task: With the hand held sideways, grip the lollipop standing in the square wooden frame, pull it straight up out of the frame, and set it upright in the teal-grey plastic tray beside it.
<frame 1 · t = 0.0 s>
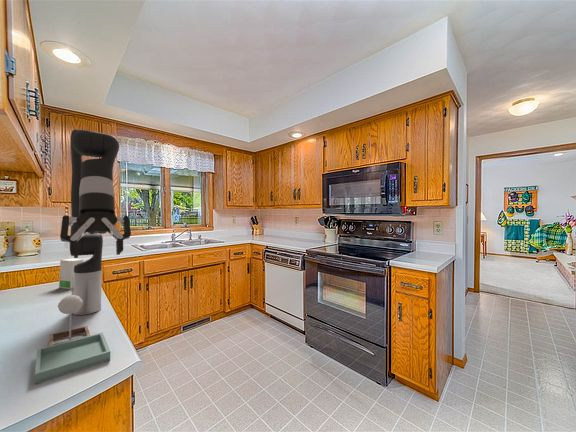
hand: (98, 255, 62), 31 cm above the countertop, tool tilted 20°, fingers open, 8 cm apart
lollipop: (69, 341, 81), resting in square wooden frame
skincare box: (71, 287, 139), on the countertop
square wooden frame: (70, 341, 81), on the countertop
tray: (73, 358, 71), on the countertop
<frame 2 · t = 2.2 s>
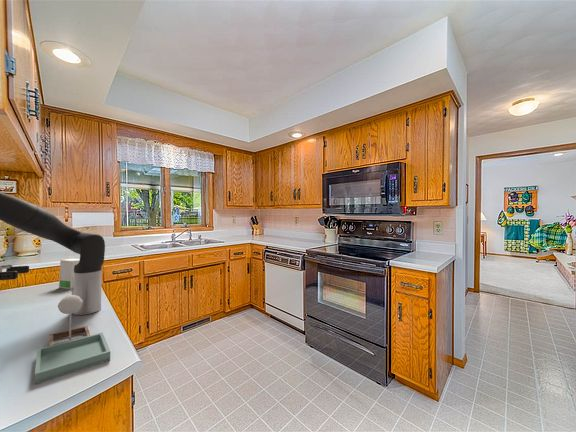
hand: (23, 271, 75), 24 cm above the countertop, tool horizontal, fingers open, 8 cm apart
nothing on the countertop moved.
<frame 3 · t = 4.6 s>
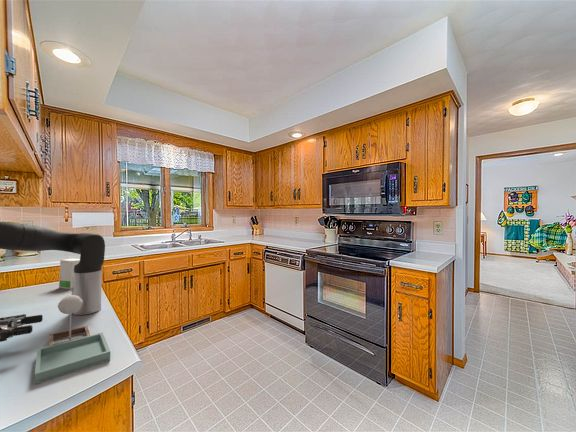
hand: (37, 323, 77), 7 cm above the countertop, tool horizontal, fingers open, 8 cm apart
nothing on the countertop moved.
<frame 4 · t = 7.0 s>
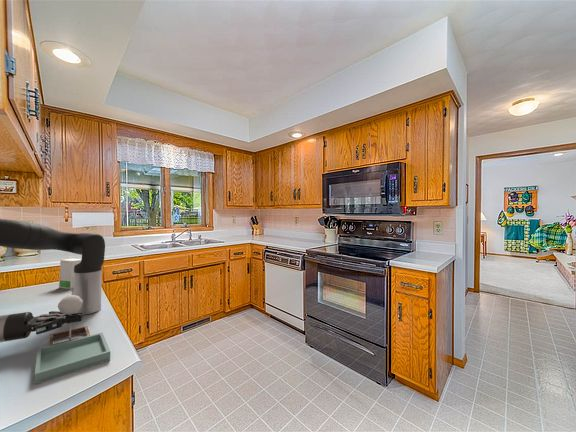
hand: (82, 316, 82), 8 cm above the countertop, tool horizontal, fingers closed on lollipop
lollipop: (70, 341, 81), resting in square wooden frame, touching gripper
everything else where it was.
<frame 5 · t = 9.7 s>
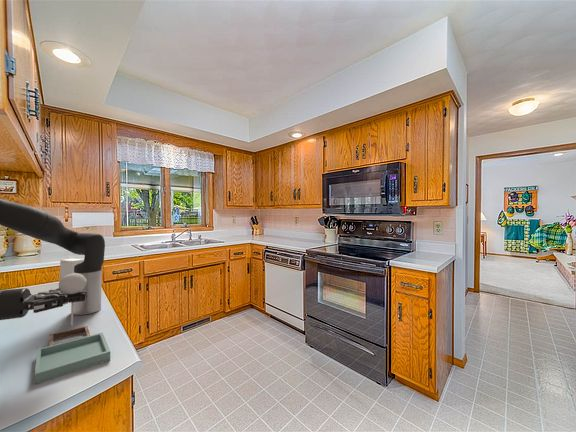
hand: (86, 295, 73), 18 cm above the countertop, tool horizontal, fingers closed on lollipop
lollipop: (71, 326, 71), point 9 cm above the countertop, touching gripper
everything else where it was.
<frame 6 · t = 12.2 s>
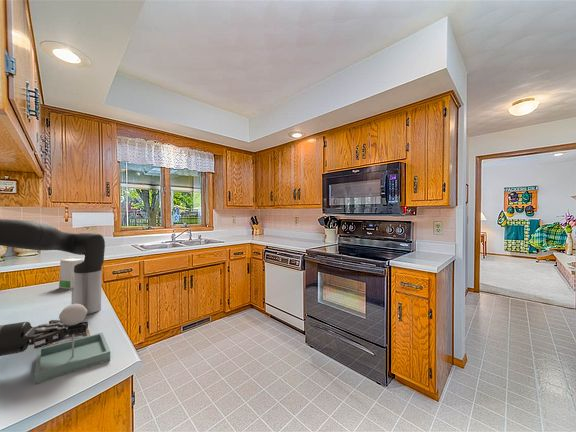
hand: (86, 326, 73), 9 cm above the countertop, tool horizontal, fingers closed
lollipop: (72, 357, 71), point 1 cm above the countertop, touching tray
everything else where it was.
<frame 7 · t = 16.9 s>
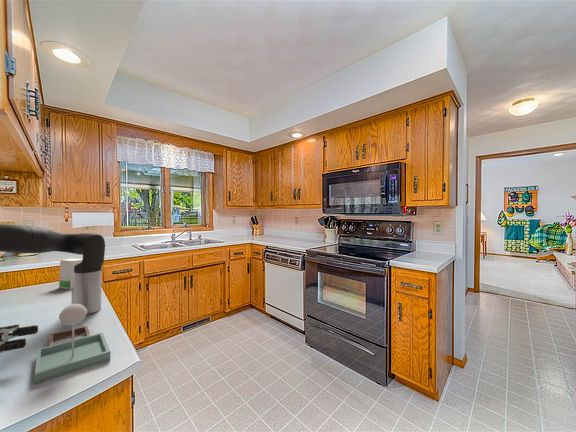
hand: (31, 335, 67), 9 cm above the countertop, tool horizontal, fingers open, 8 cm apart
nothing on the countertop moved.
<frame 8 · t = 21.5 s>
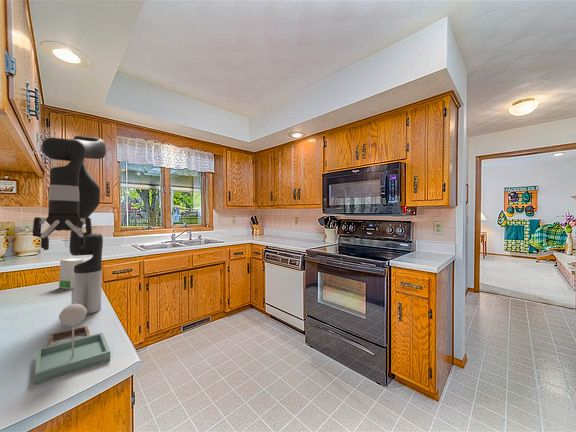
hand: (63, 249, 81), 30 cm above the countertop, tool pointing down, fingers open, 8 cm apart
nothing on the countertop moved.
at the end: lollipop inside the target area on the tray (0.2 cm from its centre), point 0.6 cm above the tray's base; lollipop tilted 0°; the gripper is holding nothing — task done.
